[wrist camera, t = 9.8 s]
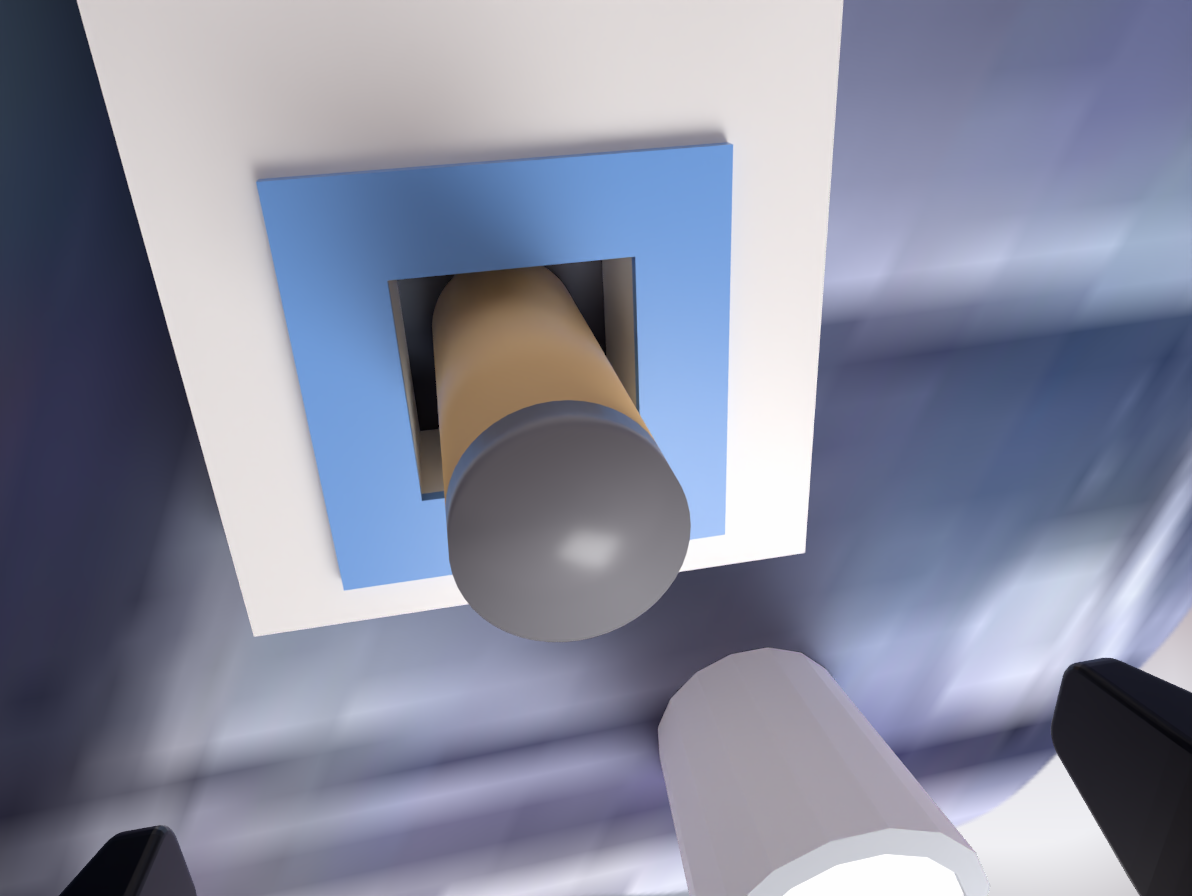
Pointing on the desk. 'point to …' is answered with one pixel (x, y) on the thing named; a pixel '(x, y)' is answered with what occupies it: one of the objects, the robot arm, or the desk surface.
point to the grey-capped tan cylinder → (547, 464)
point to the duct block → (472, 249)
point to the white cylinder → (798, 791)
